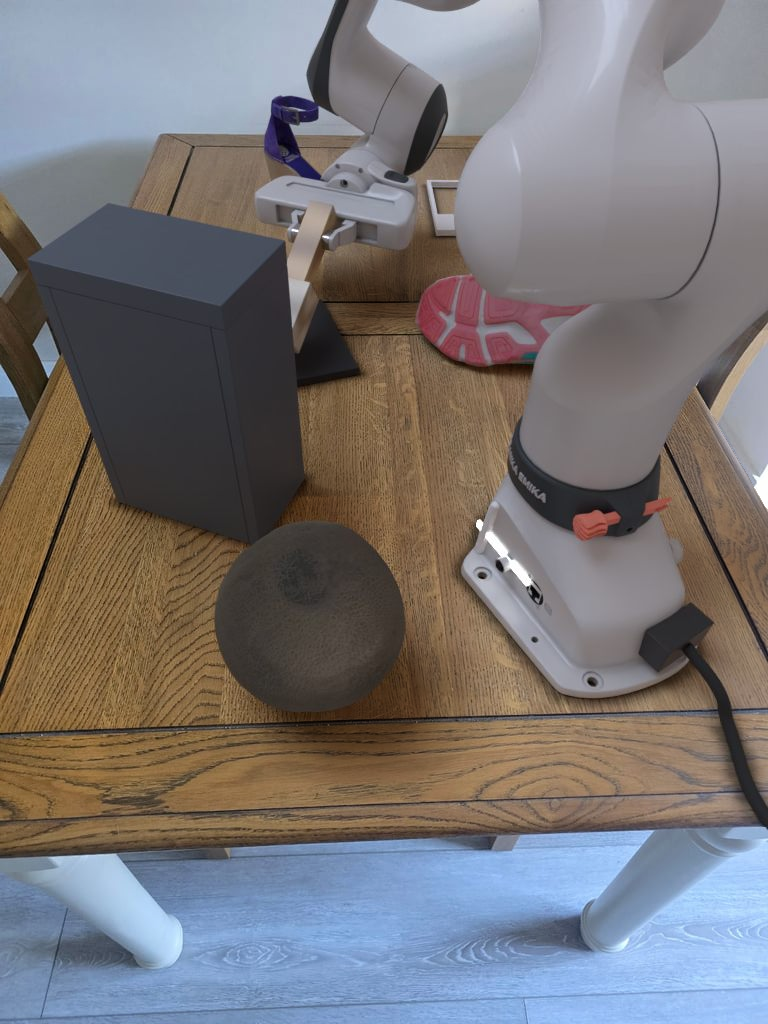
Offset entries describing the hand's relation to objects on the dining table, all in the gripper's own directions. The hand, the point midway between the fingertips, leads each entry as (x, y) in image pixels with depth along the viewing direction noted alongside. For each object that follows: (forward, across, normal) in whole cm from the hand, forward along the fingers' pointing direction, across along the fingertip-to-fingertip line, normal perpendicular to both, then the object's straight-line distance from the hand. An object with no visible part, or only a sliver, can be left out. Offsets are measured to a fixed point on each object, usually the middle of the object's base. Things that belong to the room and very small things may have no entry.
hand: (310, 241), depth 83 cm
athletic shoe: (-4, +26, +12) cm, 29 cm away
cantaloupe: (+46, +20, +12) cm, 51 cm away
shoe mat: (+4, 0, +12) cm, 13 cm away
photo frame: (-41, +10, +12) cm, 44 cm away
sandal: (-33, -13, +12) cm, 38 cm away
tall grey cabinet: (+31, +2, +12) cm, 33 cm away
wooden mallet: (+4, 0, +4) cm, 6 cm away
